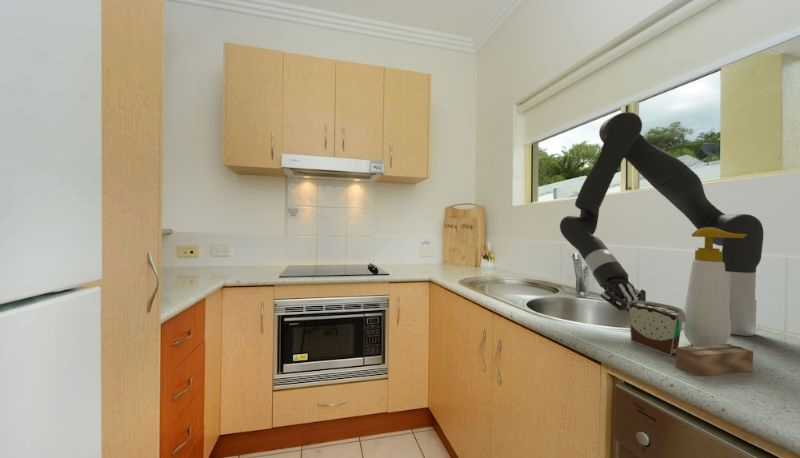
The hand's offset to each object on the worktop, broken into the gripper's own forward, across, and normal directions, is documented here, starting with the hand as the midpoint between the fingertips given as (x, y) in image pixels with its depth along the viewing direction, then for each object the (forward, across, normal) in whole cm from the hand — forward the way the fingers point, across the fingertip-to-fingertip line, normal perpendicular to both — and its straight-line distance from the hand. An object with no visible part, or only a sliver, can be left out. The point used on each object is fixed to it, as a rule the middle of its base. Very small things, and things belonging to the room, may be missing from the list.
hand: (644, 324), depth 78 cm
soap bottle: (+7, +12, -1) cm, 15 cm away
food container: (+6, 0, 0) cm, 6 cm away
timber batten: (+14, 0, -8) cm, 16 cm away
